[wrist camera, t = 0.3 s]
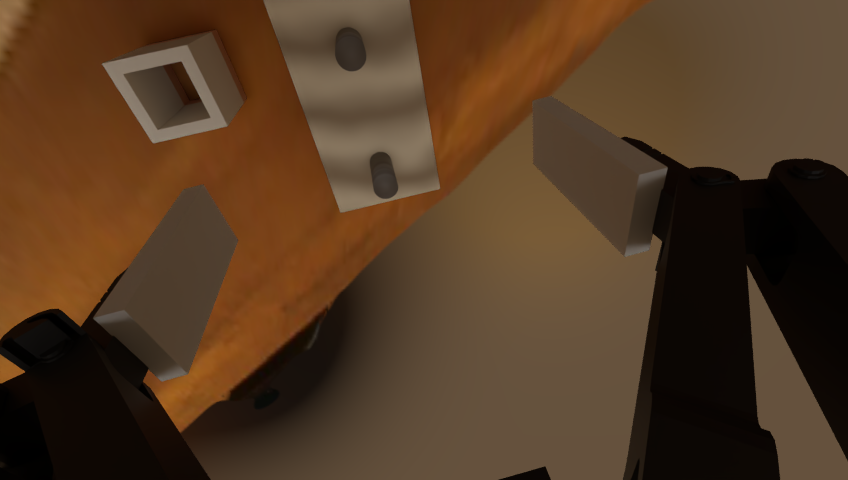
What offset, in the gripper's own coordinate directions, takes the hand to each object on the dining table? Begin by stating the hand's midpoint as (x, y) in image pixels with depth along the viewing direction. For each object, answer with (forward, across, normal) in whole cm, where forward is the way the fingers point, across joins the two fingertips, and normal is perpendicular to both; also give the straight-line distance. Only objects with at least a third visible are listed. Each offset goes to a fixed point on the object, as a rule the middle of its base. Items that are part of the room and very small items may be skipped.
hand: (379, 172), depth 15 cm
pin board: (+26, 0, -5) cm, 27 cm away
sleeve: (+26, -14, +2) cm, 30 cm away
